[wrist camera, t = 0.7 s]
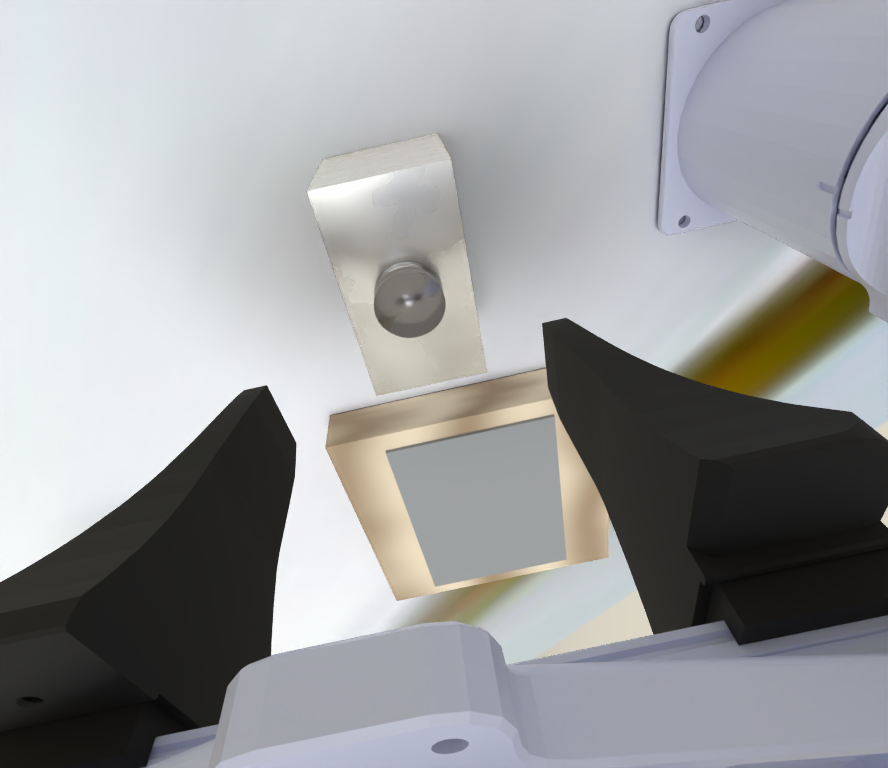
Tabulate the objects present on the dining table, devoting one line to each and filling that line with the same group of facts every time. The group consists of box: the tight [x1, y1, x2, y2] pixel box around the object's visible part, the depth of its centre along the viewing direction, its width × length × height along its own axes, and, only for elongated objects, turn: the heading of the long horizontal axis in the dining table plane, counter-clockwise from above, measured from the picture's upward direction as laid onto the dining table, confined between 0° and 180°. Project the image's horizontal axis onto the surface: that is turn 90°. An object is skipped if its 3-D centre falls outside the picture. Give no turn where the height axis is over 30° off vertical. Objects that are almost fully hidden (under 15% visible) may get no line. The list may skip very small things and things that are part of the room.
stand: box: [325, 368, 608, 601], centre depth 29 cm, size 14×14×3 cm
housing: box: [307, 133, 487, 396], centre depth 19 cm, size 4×8×6 cm, turn 11°
